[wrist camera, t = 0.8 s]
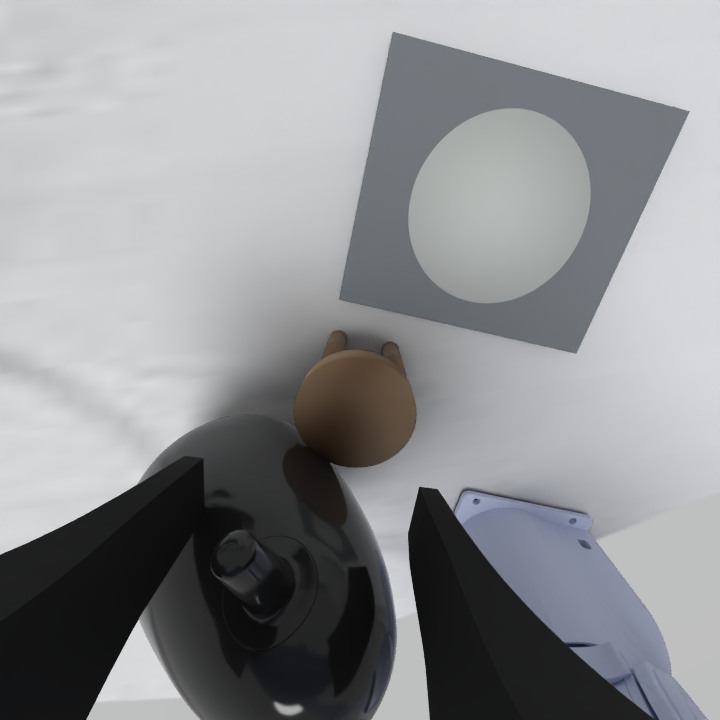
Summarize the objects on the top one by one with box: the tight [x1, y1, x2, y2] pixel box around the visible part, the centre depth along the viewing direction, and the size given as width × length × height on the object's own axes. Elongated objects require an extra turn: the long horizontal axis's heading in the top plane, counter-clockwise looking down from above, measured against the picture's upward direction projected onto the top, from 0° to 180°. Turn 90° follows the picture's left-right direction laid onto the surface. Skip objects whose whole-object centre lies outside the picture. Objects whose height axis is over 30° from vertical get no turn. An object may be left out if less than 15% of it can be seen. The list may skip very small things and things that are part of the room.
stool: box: [294, 330, 417, 467], centre depth 18 cm, size 6×6×6 cm
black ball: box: [137, 414, 397, 720], centre depth 15 cm, size 10×10×15 cm
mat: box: [339, 32, 690, 353], centre depth 17 cm, size 14×12×1 cm
